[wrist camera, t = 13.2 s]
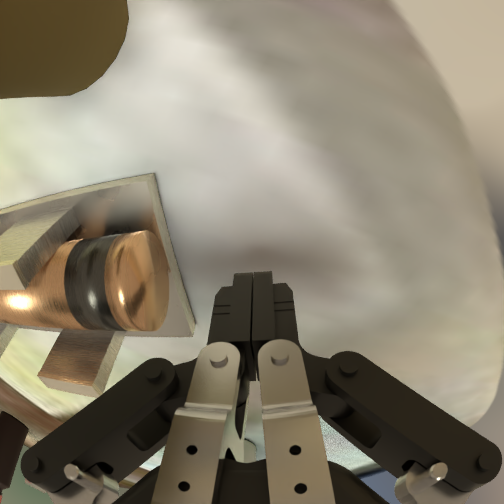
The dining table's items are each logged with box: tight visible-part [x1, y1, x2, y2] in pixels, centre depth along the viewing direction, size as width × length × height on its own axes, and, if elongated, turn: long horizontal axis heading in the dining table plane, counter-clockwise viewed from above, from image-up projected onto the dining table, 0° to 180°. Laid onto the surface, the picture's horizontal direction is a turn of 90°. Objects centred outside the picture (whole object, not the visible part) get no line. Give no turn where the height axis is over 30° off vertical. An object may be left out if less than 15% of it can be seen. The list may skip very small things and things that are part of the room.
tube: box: [0, 231, 169, 331], centre depth 12 cm, size 16×4×4 cm, turn 96°
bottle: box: [0, 412, 28, 503], centre depth 28 cm, size 7×7×20 cm
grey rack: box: [0, 173, 196, 398], centre depth 13 cm, size 9×22×6 cm, turn 96°
